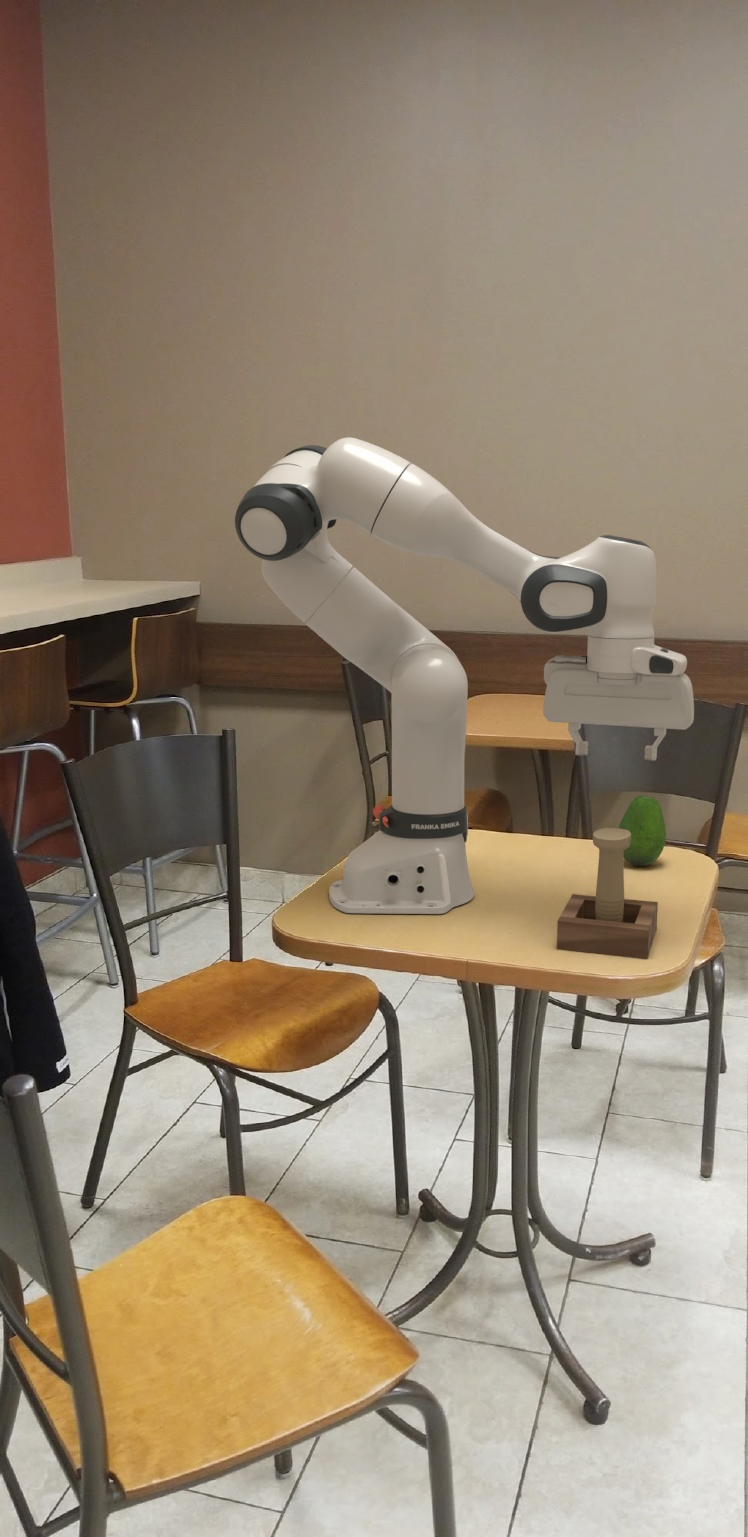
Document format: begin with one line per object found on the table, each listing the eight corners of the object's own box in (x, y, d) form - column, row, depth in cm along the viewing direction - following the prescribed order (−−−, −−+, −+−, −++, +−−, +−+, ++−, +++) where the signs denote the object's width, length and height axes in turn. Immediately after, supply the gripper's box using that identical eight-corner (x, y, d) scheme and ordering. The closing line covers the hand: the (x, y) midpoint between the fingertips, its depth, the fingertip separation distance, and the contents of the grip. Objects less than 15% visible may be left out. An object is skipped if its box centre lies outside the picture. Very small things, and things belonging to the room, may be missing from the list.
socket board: (647, 958, 152) (648, 930, 151) (556, 948, 156) (557, 920, 155) (656, 929, 163) (657, 902, 162) (571, 920, 167) (572, 894, 166)
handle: (630, 933, 161) (634, 829, 158) (620, 948, 156) (624, 841, 152) (596, 929, 163) (599, 826, 160) (585, 943, 158) (588, 837, 154)
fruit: (611, 858, 197) (613, 790, 195) (657, 857, 198) (659, 789, 195) (622, 872, 190) (624, 801, 187) (669, 871, 190) (673, 800, 187)
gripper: (539, 656, 157) (536, 756, 160) (694, 663, 150) (688, 766, 153) (549, 652, 163) (546, 747, 166) (698, 657, 156) (692, 757, 159)
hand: (615, 757), depth 160 cm, fingers open, 8 cm apart
